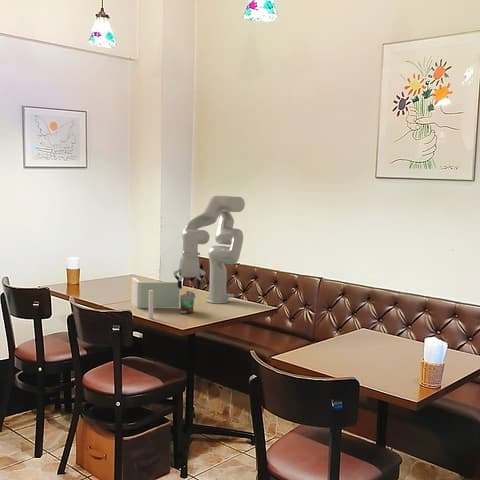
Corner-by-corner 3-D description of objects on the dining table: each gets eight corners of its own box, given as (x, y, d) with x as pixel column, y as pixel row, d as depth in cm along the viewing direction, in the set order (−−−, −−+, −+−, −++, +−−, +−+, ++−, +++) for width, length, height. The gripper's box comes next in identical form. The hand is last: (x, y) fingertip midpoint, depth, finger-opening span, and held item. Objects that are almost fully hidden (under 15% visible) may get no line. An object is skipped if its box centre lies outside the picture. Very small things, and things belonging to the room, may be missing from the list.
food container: (191, 315, 298) (191, 296, 297) (179, 314, 300) (180, 295, 298) (197, 310, 310) (198, 291, 309) (186, 309, 312) (187, 290, 310)
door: (140, 306, 312) (141, 281, 311) (178, 306, 316) (179, 281, 314) (140, 307, 310) (141, 282, 308) (179, 307, 313) (179, 282, 311)
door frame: (134, 302, 323) (134, 277, 321) (153, 318, 290) (153, 290, 288) (131, 303, 322) (131, 277, 320) (149, 319, 289) (149, 290, 288)
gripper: (203, 253, 308) (202, 286, 310) (171, 254, 301) (170, 287, 303) (208, 255, 302) (207, 288, 303) (176, 256, 294) (175, 290, 296)
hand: (188, 288), depth 303 cm, fingers open, 9 cm apart
